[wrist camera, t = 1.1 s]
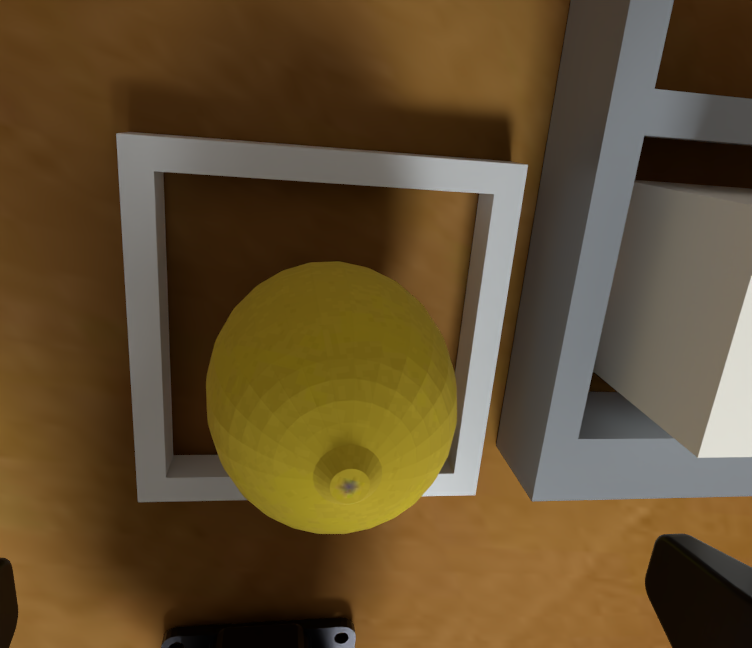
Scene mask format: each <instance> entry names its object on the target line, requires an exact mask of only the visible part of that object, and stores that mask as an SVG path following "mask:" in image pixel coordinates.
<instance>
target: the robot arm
mask: <svg viewBox="0 0 752 648" xmlns="http://www.w3.org/2000/svg"><path fill="white" fill-rule="evenodd" d="M645 587H646V592H647V595H648V598H649V600H650V602H651V604H652V606H653V608H654V610H655V612H656V614H657V616H658V619H659V621H660V623H661V625H662V627H663V629H664V631H665V633H666V635H667V638H668V640H669V642H670V644H671V646H672V648H752V567H750V566H748V565H746V564H744V563H742V562H740V561H738V560H736V559H734V558H732V557H730V556H728V555H727V554H725V553H723V552H721V551H719V550H717V549H715V548H713V547H711V546H709V545H707V544H705V543H703V542H702V541H700V540H698V539H696V538H694V537H692V536H690V535H687V534H664V535H661V536H659V537H658V538H657V540H656V541H655V544H654V548H653V551H652V555H651V558H650V562H649V565H648V569H647V573H646V577H645ZM17 619H18V604H17V597H16V590H15V583H14V576H13V569H12V565H11V563H10V561H9V560H8V559H6V558H0V648H9V646H10V643H11V640H12V638H13V635H14V632H15V629H16V625H17ZM341 632H342V633H344V634H338V633H341ZM355 638H356V637H355V630H354V624H353V623H352V621H351V620H349V619H347V618H328V619H310V620H292V621H274V622H256V623H238V624H220V625H202V626H184V627H175V628H171V629H170V630H168V631H167V632H166V633H165V634H164V638H163V642H162V646H161V648H355ZM175 642H178V643H181V644H175Z"/></svg>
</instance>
